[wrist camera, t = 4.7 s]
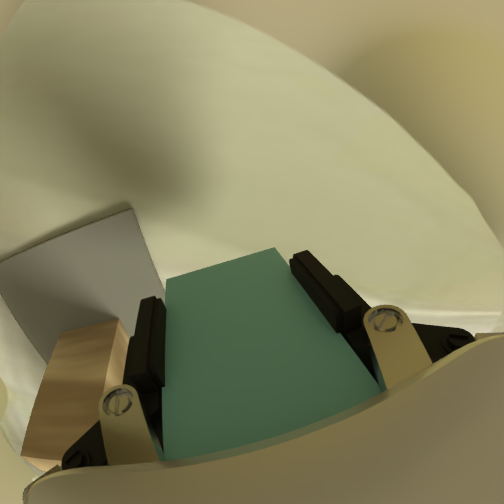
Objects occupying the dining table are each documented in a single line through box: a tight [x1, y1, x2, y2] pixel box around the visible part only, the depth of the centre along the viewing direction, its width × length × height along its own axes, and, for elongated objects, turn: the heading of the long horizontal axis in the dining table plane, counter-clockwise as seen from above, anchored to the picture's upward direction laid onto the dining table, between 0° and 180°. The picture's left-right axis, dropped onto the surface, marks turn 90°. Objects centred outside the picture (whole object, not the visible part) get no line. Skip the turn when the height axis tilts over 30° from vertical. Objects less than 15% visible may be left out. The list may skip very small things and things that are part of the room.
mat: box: [0, 208, 165, 364], centre depth 19 cm, size 24×12×1 cm, turn 12°
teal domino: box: [162, 247, 381, 461], centre depth 8 cm, size 2×5×10 cm, turn 102°
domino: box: [21, 318, 130, 471], centre depth 12 cm, size 2×5×10 cm, turn 102°
